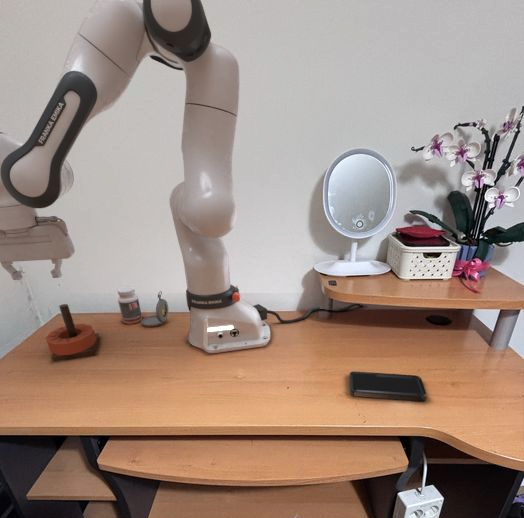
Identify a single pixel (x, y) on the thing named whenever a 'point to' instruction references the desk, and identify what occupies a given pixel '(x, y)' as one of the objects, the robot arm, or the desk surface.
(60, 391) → the desk surface
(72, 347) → the ring
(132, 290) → the pill bottle
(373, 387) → the phone
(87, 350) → the peg on square base
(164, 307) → the pocket watch
